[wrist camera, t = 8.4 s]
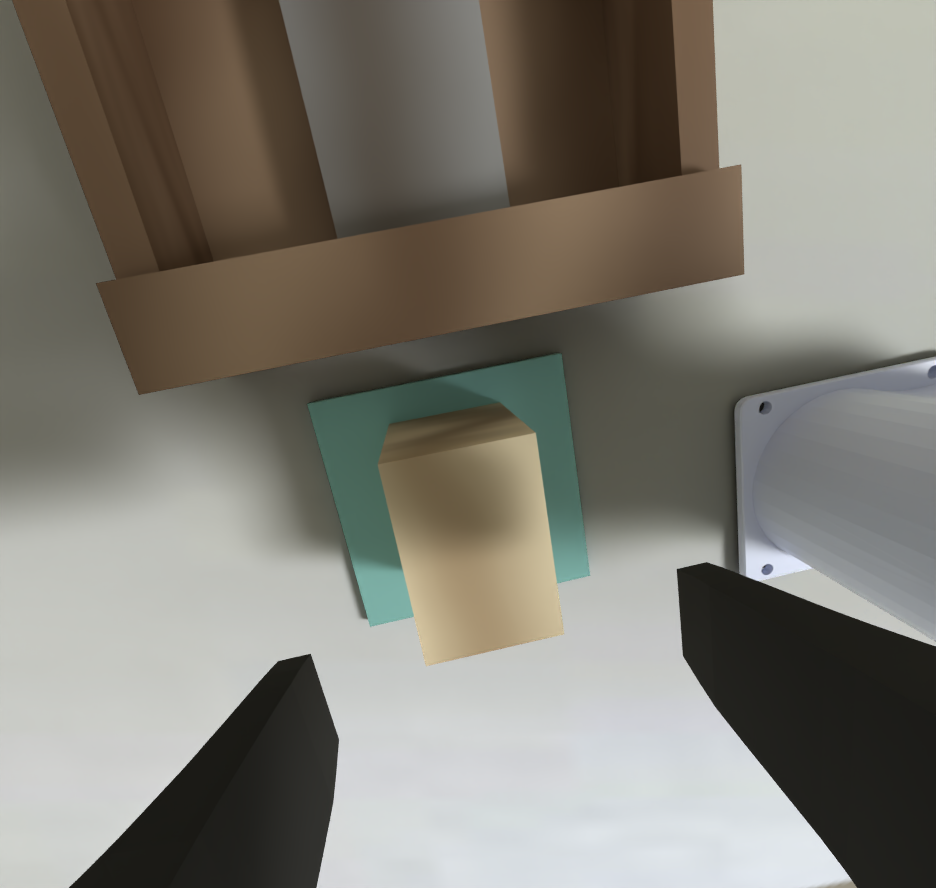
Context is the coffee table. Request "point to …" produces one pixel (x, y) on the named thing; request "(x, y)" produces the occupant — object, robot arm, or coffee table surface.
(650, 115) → the slotted box
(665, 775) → the coffee table surface
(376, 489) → the teal mat
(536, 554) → the maple block
